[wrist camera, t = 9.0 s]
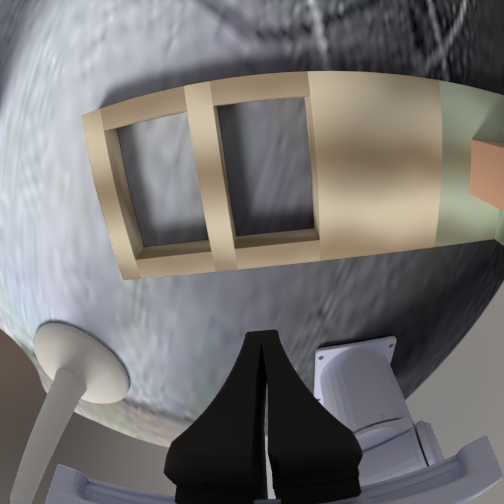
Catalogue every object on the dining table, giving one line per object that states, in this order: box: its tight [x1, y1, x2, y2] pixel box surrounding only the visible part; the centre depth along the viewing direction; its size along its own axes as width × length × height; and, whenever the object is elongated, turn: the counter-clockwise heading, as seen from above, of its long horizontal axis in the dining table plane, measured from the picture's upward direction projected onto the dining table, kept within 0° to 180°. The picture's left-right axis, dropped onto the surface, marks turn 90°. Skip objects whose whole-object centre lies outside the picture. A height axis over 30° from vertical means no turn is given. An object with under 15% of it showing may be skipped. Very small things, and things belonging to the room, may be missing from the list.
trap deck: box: [81, 71, 504, 280], centre depth 16 cm, size 12×31×5 cm, turn 97°
